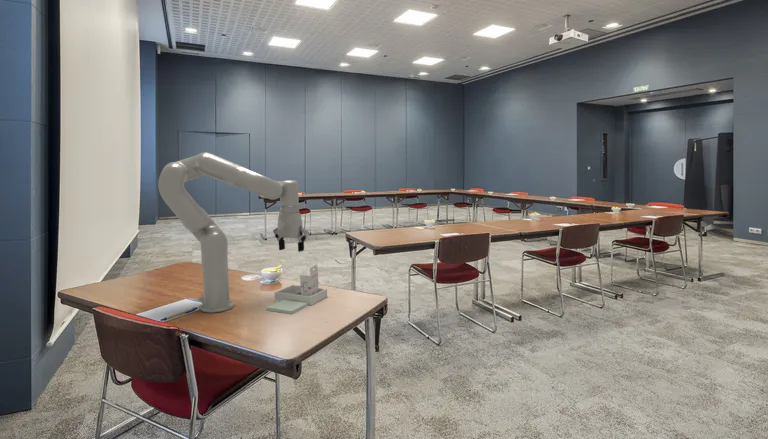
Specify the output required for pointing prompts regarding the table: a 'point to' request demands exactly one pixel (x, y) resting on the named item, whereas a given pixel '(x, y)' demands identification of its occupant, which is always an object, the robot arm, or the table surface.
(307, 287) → the ink cartridge box
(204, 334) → the table surface
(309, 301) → the bin
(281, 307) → the board
